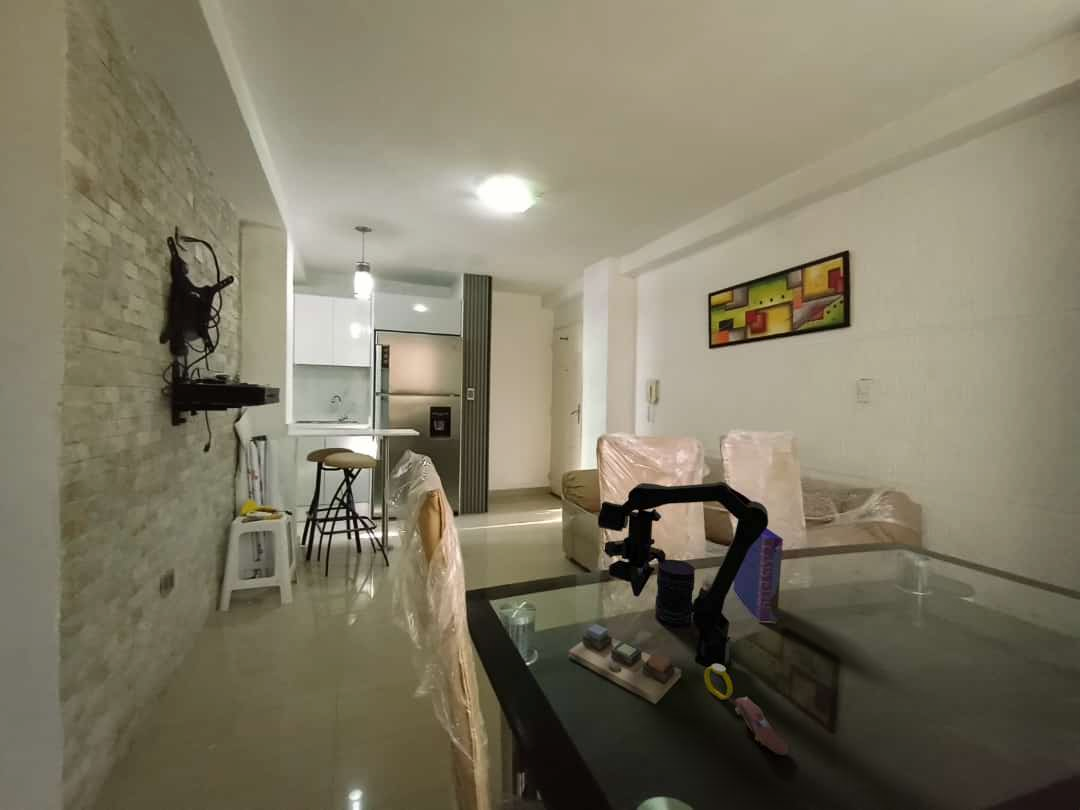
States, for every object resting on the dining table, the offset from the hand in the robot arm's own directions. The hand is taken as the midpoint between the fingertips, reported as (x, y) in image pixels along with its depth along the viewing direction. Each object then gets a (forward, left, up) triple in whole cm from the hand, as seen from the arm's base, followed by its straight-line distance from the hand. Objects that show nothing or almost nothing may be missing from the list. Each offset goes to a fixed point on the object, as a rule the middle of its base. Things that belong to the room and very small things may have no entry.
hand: (636, 595), depth 114 cm
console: (-4, +12, -11) cm, 17 cm away
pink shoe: (-33, +12, -11) cm, 37 cm away
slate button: (+4, +11, -8) cm, 14 cm away
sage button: (-4, +11, -9) cm, 15 cm away
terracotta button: (-12, +11, -8) cm, 18 cm away
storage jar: (-3, -16, -11) cm, 20 cm away
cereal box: (-17, -40, -11) cm, 45 cm away
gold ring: (-23, +6, -11) cm, 26 cm away
